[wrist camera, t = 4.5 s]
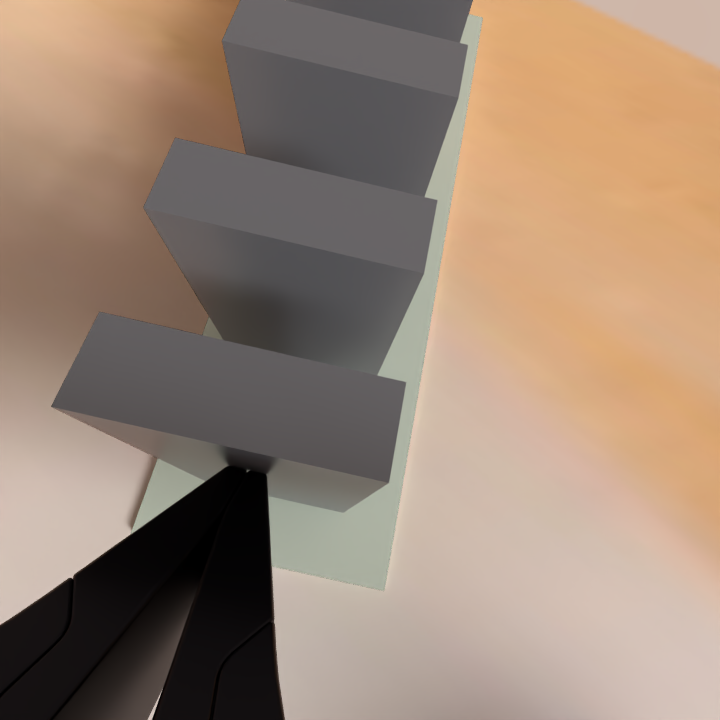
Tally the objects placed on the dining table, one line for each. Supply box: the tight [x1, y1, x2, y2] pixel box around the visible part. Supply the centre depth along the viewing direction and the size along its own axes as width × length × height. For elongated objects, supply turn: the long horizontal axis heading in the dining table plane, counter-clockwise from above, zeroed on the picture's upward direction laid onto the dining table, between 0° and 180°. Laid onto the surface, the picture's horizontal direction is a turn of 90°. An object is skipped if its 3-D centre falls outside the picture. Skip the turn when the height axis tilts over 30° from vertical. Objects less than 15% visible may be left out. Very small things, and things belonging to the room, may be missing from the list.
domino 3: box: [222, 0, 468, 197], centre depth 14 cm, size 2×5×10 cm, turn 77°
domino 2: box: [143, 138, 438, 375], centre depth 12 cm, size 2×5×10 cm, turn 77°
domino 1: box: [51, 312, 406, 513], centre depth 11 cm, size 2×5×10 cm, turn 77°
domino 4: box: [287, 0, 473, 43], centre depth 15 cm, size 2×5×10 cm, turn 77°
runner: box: [130, 14, 483, 591], centre depth 20 cm, size 30×9×1 cm, turn 167°
